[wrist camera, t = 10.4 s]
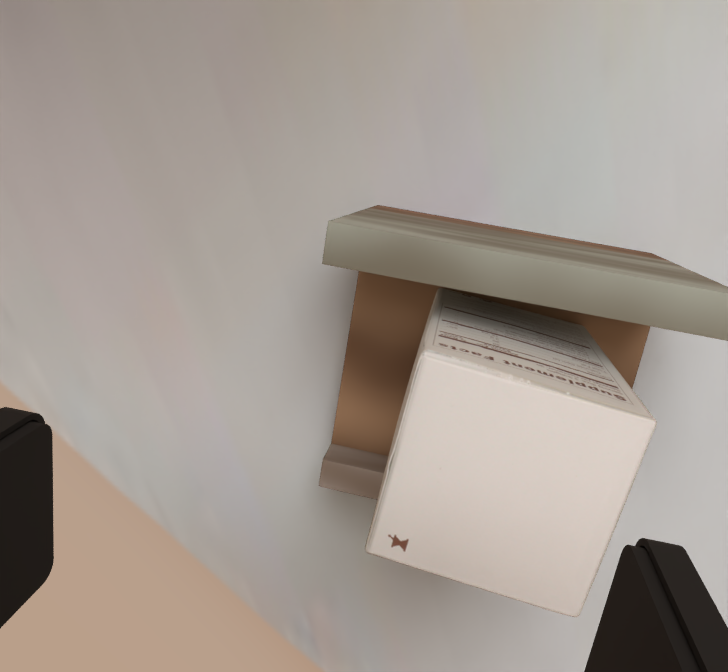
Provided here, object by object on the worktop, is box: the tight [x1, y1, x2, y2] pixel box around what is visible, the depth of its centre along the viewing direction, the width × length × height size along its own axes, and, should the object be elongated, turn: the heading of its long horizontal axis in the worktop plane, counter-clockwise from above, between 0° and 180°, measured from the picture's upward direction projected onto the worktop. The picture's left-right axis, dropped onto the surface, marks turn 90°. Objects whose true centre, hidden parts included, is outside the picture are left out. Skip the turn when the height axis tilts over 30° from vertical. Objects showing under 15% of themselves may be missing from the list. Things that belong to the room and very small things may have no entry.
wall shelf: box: [319, 205, 728, 500], centre depth 29 cm, size 14×14×12 cm
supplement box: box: [365, 288, 657, 617], centre depth 25 cm, size 7×7×13 cm
